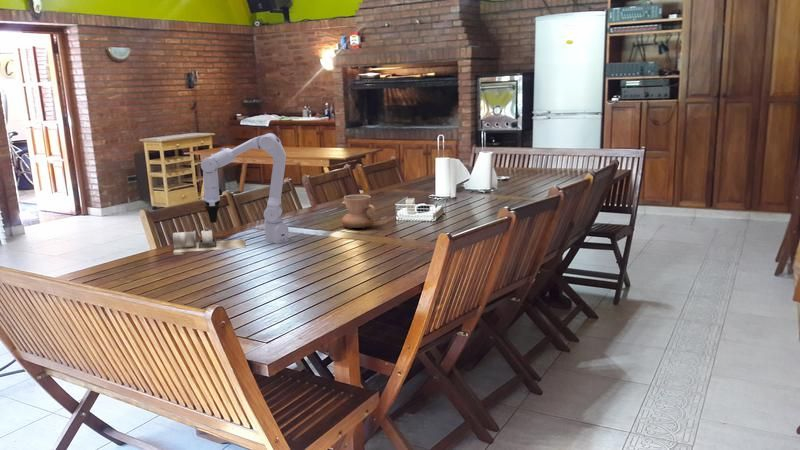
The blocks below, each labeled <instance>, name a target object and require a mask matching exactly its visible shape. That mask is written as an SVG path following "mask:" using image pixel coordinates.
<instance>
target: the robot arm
mask: <svg viewBox="0 0 800 450" xmlns="http://www.w3.org/2000/svg"><path fill="white" fill-rule="evenodd" d="M252 149H255V150H259V149H261V150H262V151H264V152H266V153H267V154H268V155H269V156H271V158H272V159H273V164H272V170H271V171H272V172H271V176H270V177H271V180H270V187H269V195H268V199H267V200H268V201H267V205H266V208H265V209H264V211H263V218H264V221H263V222H264V235H265V237H264V239H265V240H264V241H265V242H267V243H273V244H282V243H286V242H289V241H290V240H289V238H290V236H289V227H288V225H287V224H286V223H284V220H283V218H282V217H281V216H282V214H283V207H282V192H283V186H284V185H283V183H284V176H285V170H286V162H287V153H286V151H285V149H284V146H283V145H282V141H281V139H280V138H279V137H278V136H277V135H276V134H275V133H273V132H268V133H265V134H262V135H259V136H256V137H253V138H251V139H249V140H247V141H245V142H243V143H241V144H239V145H237V146H236V147H233V148H229V147H226V148H225V147H222V148H221V149H220V150H219V151H218V152H215V153H212V154H210V156H209V157H208V156H207V157H205V158H204V159H202V161H201V162H200V168H201V170H202V179H203V180H202V181H203V192H204V193H203V195H204V197H202V198H201V201H202V202H203V201H204V202H205V205H204V209H206V211H207V214H208V218H209V222H210V223H211V224H213V223H214V224H215V223H217V220H218V214H219V212H218V211H219V209H220V207H221V206H220V205H219V204H220V203H221V202H220V201H221V197H220V186H219V185H220V184H219V173H218V169H219V168H222V167H224V166H226V165H229V164H231V163H233V162H235V159H236V157H237V156H239V155H241V154H243V153H245V152H248V151H249V150H252Z"/></svg>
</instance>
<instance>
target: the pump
mask: <svg viewBox="0 0 800 450" xmlns="http://www.w3.org/2000/svg"><path fill="white" fill-rule="evenodd" d="M209 228H210V227H204V228H203V229H204V230H201V239H202V243H208V242H213V239H214V238H213V230H212V229H209Z"/></svg>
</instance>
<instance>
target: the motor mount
mask: <svg viewBox="0 0 800 450" xmlns="http://www.w3.org/2000/svg"><path fill="white" fill-rule="evenodd" d="M196 232H197V230H193V231H181V232H172V245H173V252H172V253H173V256H177V255H187V252H200V251H201V252H202V251H203V252H204V251H215V250H216V251H218V250H231V249H233V250H234V249H244V248H245V249H247V245H246V239H230V240H217V238H216V237H215V238H213V242H208V243H202V238H201V239H198V242H197V233H196Z"/></svg>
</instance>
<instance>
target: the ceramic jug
mask: <svg viewBox="0 0 800 450" xmlns="http://www.w3.org/2000/svg"><path fill="white" fill-rule="evenodd" d="M371 198H372V196H371V195H368V194H349V195H345V196H344V197H343V201H342V202H341V204H342V205H345V208H346V210H347V212H348V213H347V214H345V215H344V216H343V217H342V218H341V223H342V225H343V226H344V227H345V228H347V229H352V228H362V229H366V228H365V227H367V228H368V227H371V226H372V225H374V223H375V222H374V221H375V216H376V207H375V206H374V205H373V204H371V200H372V199H371ZM369 209H371V215H370V214H369V212H368V211H369Z"/></svg>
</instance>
